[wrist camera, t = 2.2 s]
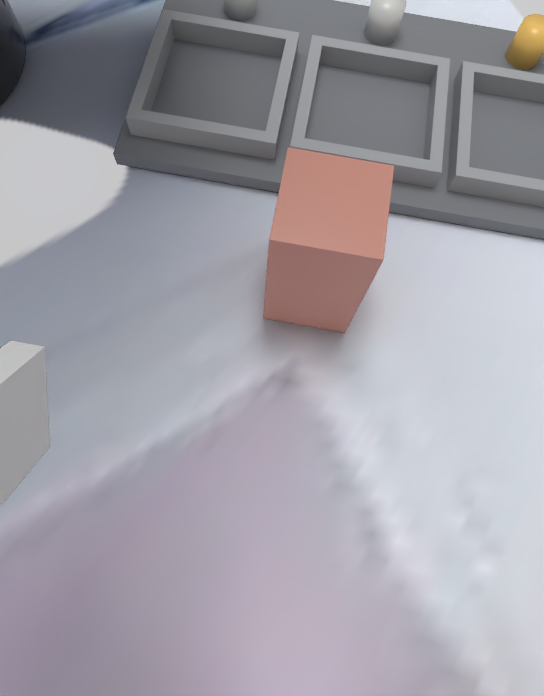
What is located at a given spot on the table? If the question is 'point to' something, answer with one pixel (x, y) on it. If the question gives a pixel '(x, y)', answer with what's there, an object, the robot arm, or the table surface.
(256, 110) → the grey compartment tray
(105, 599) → the table surface
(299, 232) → the salmon pink square prism
